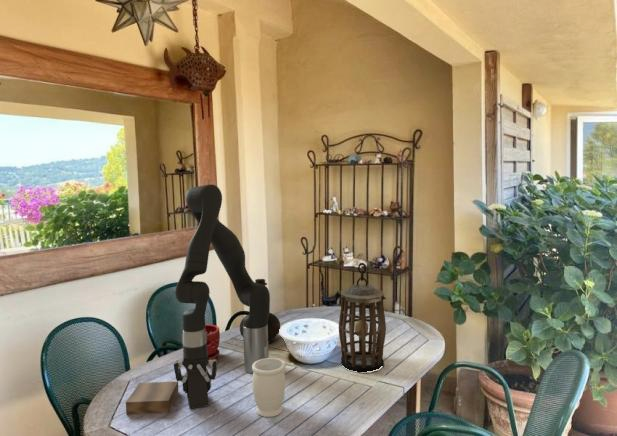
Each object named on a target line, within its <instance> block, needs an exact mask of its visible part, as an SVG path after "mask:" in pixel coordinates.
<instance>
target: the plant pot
mask: <svg viewBox="0 0 617 436" xmlns="http://www.w3.org/2000/svg"><path fill="white" fill-rule="evenodd" d="M205 329H206V335H207V356H208V358H209V360H214V359H217V357H219V355H220V350H219V346H220V341H221V340H220V339H221V337H220V336H221V335H220V334H221V332H220V327H219V326H217V325H215V324H205Z"/></svg>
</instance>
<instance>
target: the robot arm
mask: <svg viewBox="0 0 617 436" xmlns="http://www.w3.org/2000/svg"><path fill="white" fill-rule="evenodd" d="M185 203H186V206H187V208H188V209H189V212H191V214H192V215H193V217H194V219H195V220H196V221H197V223H198V226H197V228H196V230H195V232H194V233H193V235H192V237H191V239H190V241H189V243H188V246H187V251H186V255H185V264H184V267H183V270H182V272H181V274H180V277H179V279H178V282H177V283H176V287H175V292H174V293H175V295H174V296H175V298H176V300H177V301H178V303H180V304H192V305H193V304H195V307H194V308H190V309H187V310H185V311H184V312H183V313H182V352H183V353H182V355H183V358H182V359H183V360H180V361H179V360H175V362H174V363H173V369H174V375H175V380H176V382H177V381H178V382H181V383H182V391H183V392H184V394H187V393H188V382H187V371H185V373H184V375H182V371H181V368H182V366H183V367H184V368H185V370H186V369H187V368H188V369H190V370H191V369H192V368H197V369H199V371H200V372H201V374H202V376H204V378H205V380H206V381H207V390H208V392H209V391H211V388H212V383H211V381H212V380H215V379H216V376H217V370H218V369H217V368H218V358H215V359H213V360H209V358H208V356H207V335H206V334H207V332H206V329H205V325H206V312H207V306H208V303H209V298H210V287H209V285H208V284H207V282H205V281H199V280H198V281H193V280H194V279H195V277H197V276H199V275H200V276H201V275H204V274H205V273H206V272H207V270H208V263H209V255H210V254H209V253H210V247H211V246H212V248H213V250H214V252H215V254H216V256H217V257H218V259H219V262H220V263H221V265H222V266H223V267H224V270H225V271H226V273H227V275H228V277H229V278H230V282H231V283H232V286H233V288H234V290H235V293H236V296H237V298H238V299H239V302H241V304H242V305H244V306H246V307H249V311H248V312H249V313H248V314H249V315H248V314H247V315H248V316H247V315H245V316H244V317H243V318H244V319H243V318H242V319H243V336H242V338H243V361H244V362H243V364H244V367H243V368H244V371H245V372H246V373H249V374H253V372H254V371H253V370H252V364H253V363H254V362H255V361H257V360H260V359H265V358H270V354H269V343H268V318H269V313H271V312H270V309H271V308H270V306H271V302H270V301H271V295H270V290H269V288H268V287H267V285H265V286H264V285H262V284H258V283H255V281H254V280H253V279H252V277H251V276H250V274H249V272H248V271H247V267H246V254H245V250H244V248H243V245H242V243H241V242H240V241H239V238H238V237H237V235H236V234H235V233H234V232H233V231H232V230H231V229H229V228H228V226H226V225H225V224H224V223H222V222H221V221H220V220H219V214H220V211H221V208H222V205H223V195H222V191H221V189H220V188H219V187H218V186H217V185H215V184H210V183H209V184H205V185H199V186H195V187H194V186H193V187H191V188H189V189H187V192H186V194H185ZM208 365H209V366H210V367H211V374H210V372H209V369H208V368H207V366H208ZM205 368H206V372H205V371H204V369H205Z"/></svg>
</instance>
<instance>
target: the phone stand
mask: <svg viewBox="0 0 617 436" xmlns="http://www.w3.org/2000/svg"><path fill="white" fill-rule="evenodd" d="M206 368H207V367H206ZM206 368H205V369H204V371H205V372H206ZM185 370H186V371H187V382H188V393H186V399H187V403H188V407H189V410H190V409H196V408H201V407H207V406H209V391H208V390H207V381H206V380H205V378H204V376H202V374H201V372H200V371H199V369H197V368H192V369H191V370H190V369H188V368H187V369H186V368H185ZM186 371H185V372H186Z"/></svg>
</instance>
